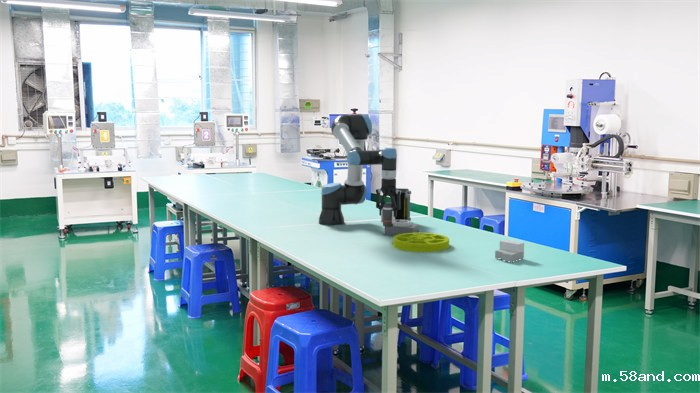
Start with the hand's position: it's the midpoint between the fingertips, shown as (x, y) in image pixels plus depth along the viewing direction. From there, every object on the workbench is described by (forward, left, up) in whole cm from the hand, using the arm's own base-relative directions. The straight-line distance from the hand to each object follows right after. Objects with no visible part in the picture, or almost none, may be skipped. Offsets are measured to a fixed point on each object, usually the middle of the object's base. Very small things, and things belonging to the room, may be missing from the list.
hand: (387, 222), depth 327 cm
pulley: (+20, -7, -10) cm, 24 cm away
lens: (0, 0, -2) cm, 2 cm away
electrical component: (-8, +43, -9) cm, 44 cm away
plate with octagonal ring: (+2, +16, -9) cm, 18 cm away
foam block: (+67, -21, -10) cm, 71 cm away
